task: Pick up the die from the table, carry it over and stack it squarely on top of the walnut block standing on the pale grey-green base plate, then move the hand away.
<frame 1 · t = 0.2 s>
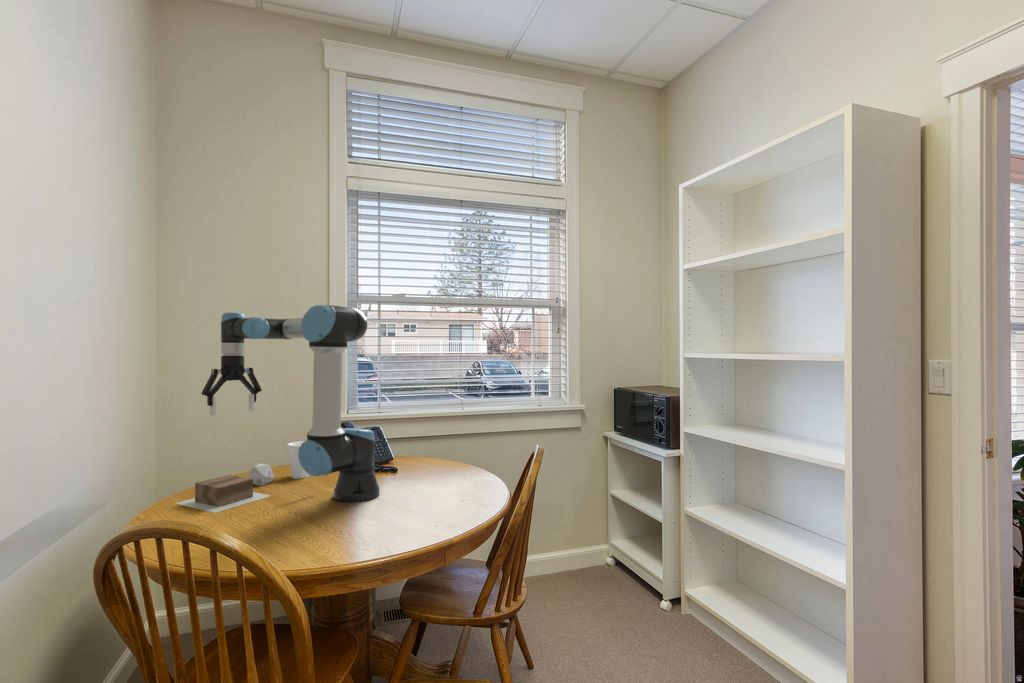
hand: (232, 413, 191), 27 cm above the table, tool pointing down, fingers open, 13 cm apart
die: (261, 486, 192), on the table
foam cup: (300, 477, 205), on the table
base plate: (224, 502, 172), on the table
walnut block: (224, 499, 172), point 1 cm above the table, touching base plate
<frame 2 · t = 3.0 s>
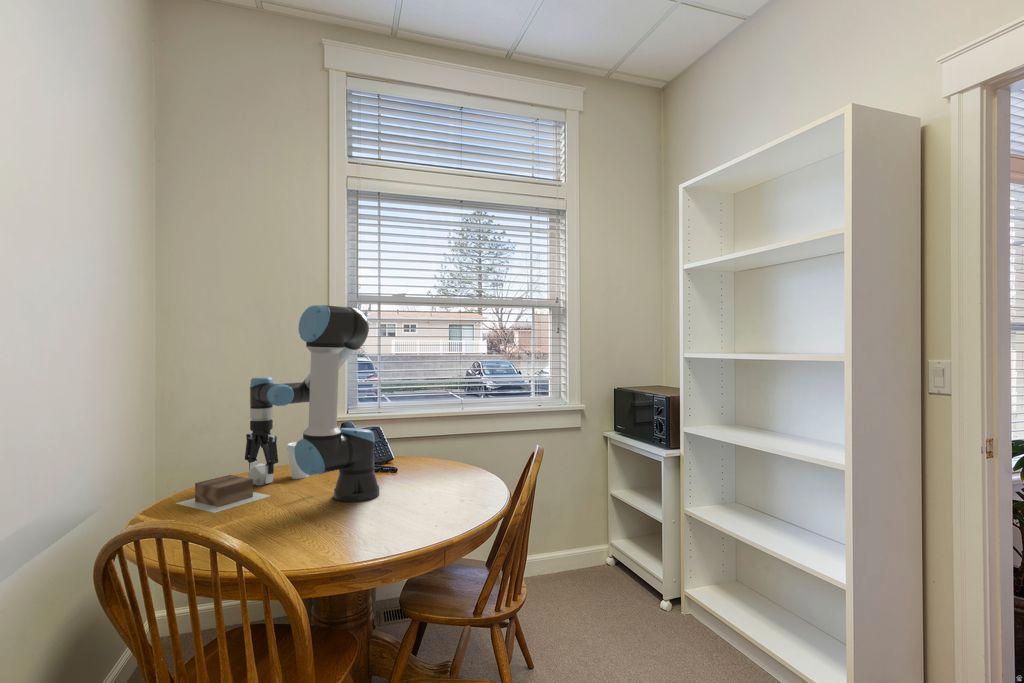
hand: (261, 481, 192), 2 cm above the table, tool pointing down, fingers closed on die, 8 cm apart
die: (260, 486, 192), on the table, touching gripper
everything else where it was.
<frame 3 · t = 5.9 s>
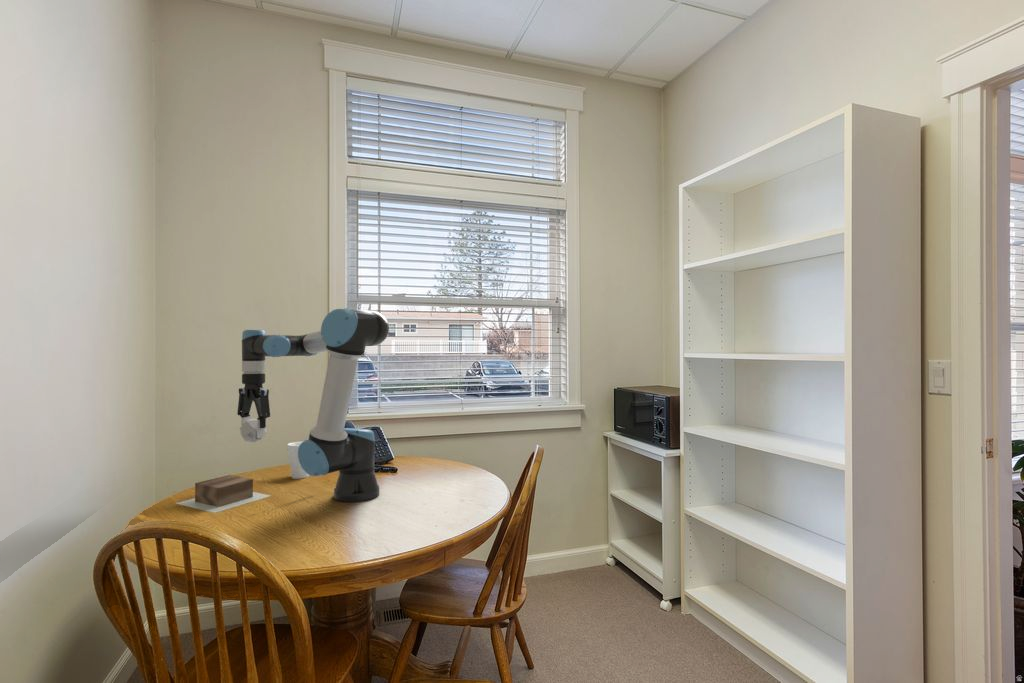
hand: (253, 436, 187), 19 cm above the table, tool pointing down, fingers closed on die, 8 cm apart
die: (253, 441, 187), point 17 cm above the table, touching gripper
everything else where it was.
when the fingers open (11 cm above the table, at t = 8.8 s): die drops 2 cm, resting on walnut block.
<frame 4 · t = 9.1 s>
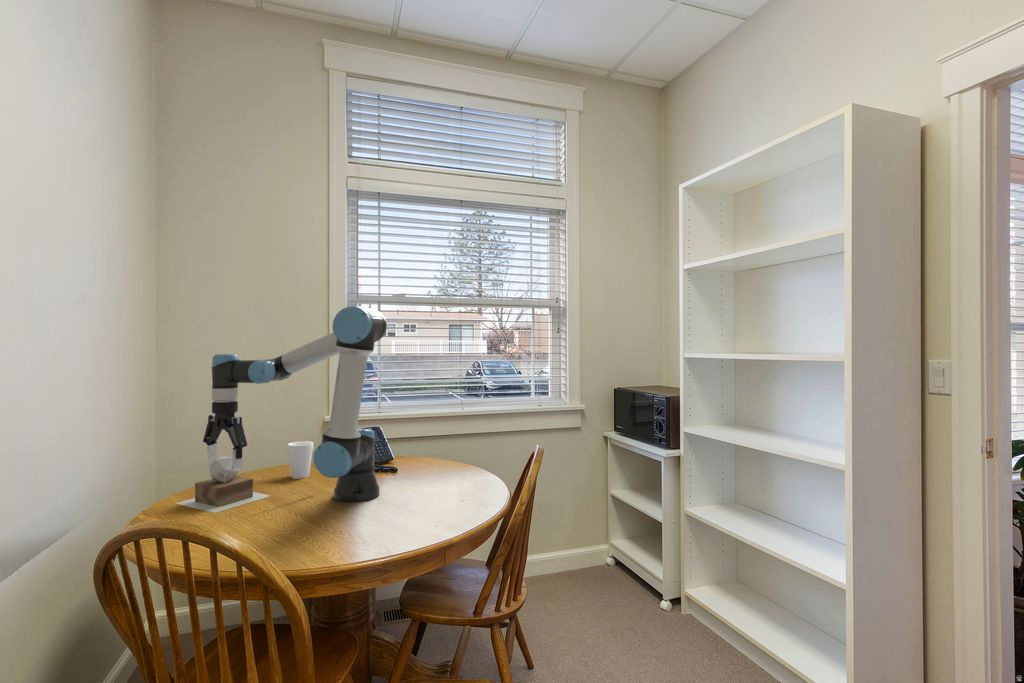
hand: (224, 466, 172), 12 cm above the table, tool pointing down, fingers open, 12 cm apart
die: (224, 481, 172), point 7 cm above the table, touching walnut block
walnut block: (224, 499, 172), point 1 cm above the table, touching base plate, die
everything else where it was.
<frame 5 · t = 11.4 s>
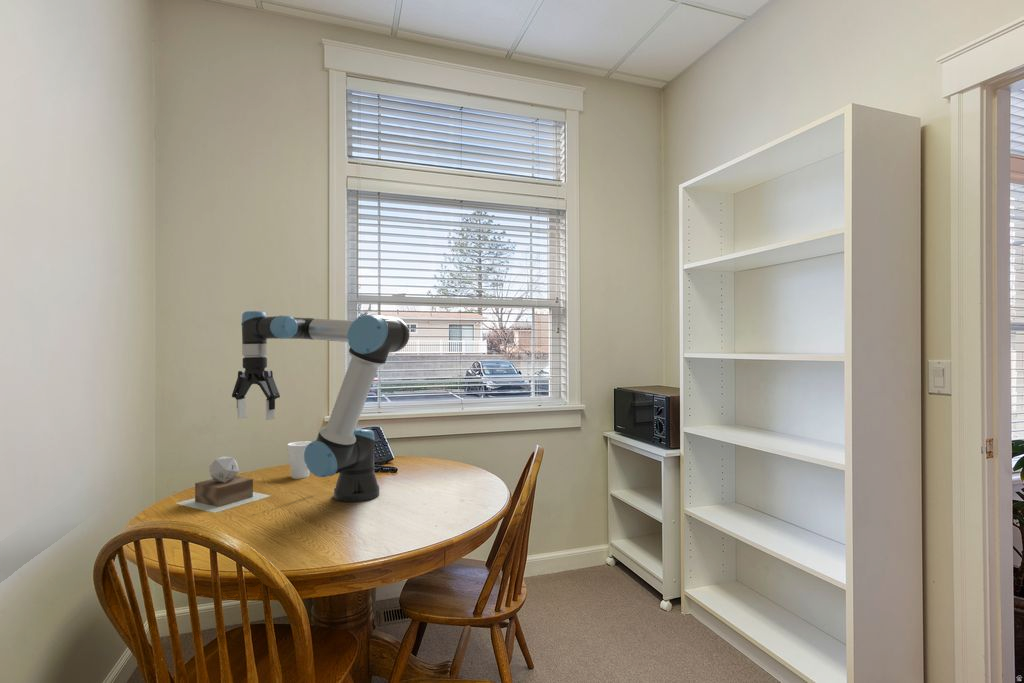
hand: (255, 418, 178), 27 cm above the table, tool pointing down, fingers open, 13 cm apart
nothing on the table moved.
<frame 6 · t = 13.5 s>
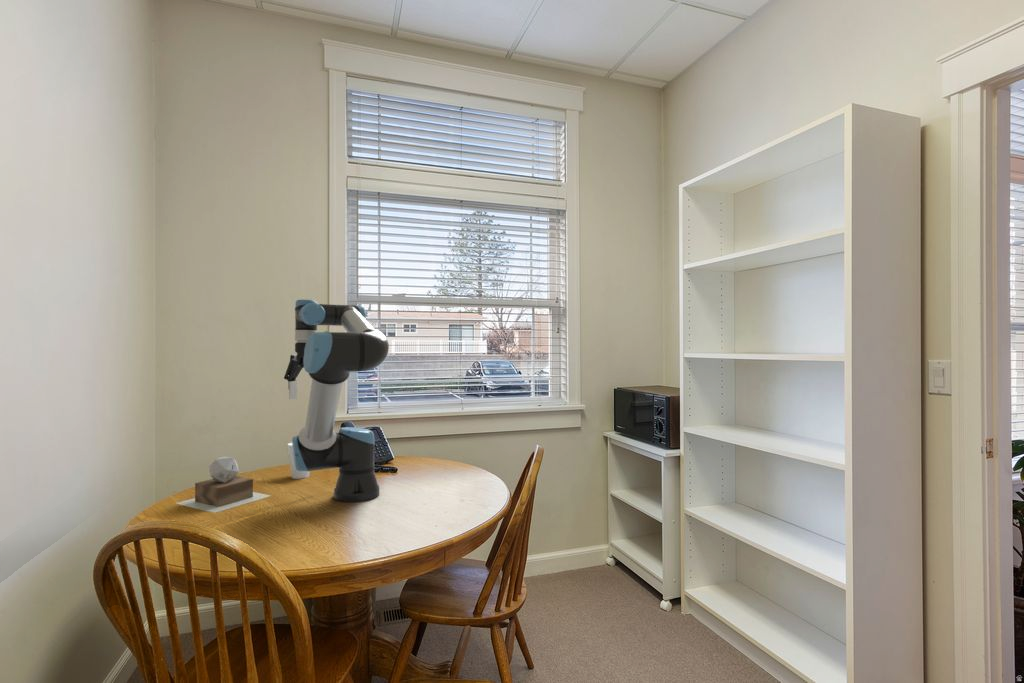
hand: (305, 399, 191), 32 cm above the table, tool pointing down, fingers open, 13 cm apart
nothing on the table moved.
at the end: die 0.4 cm off-centre on the walnut block, point 5.8 cm above the walnut block's base; die tilted 1°; the gripper is holding nothing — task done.
